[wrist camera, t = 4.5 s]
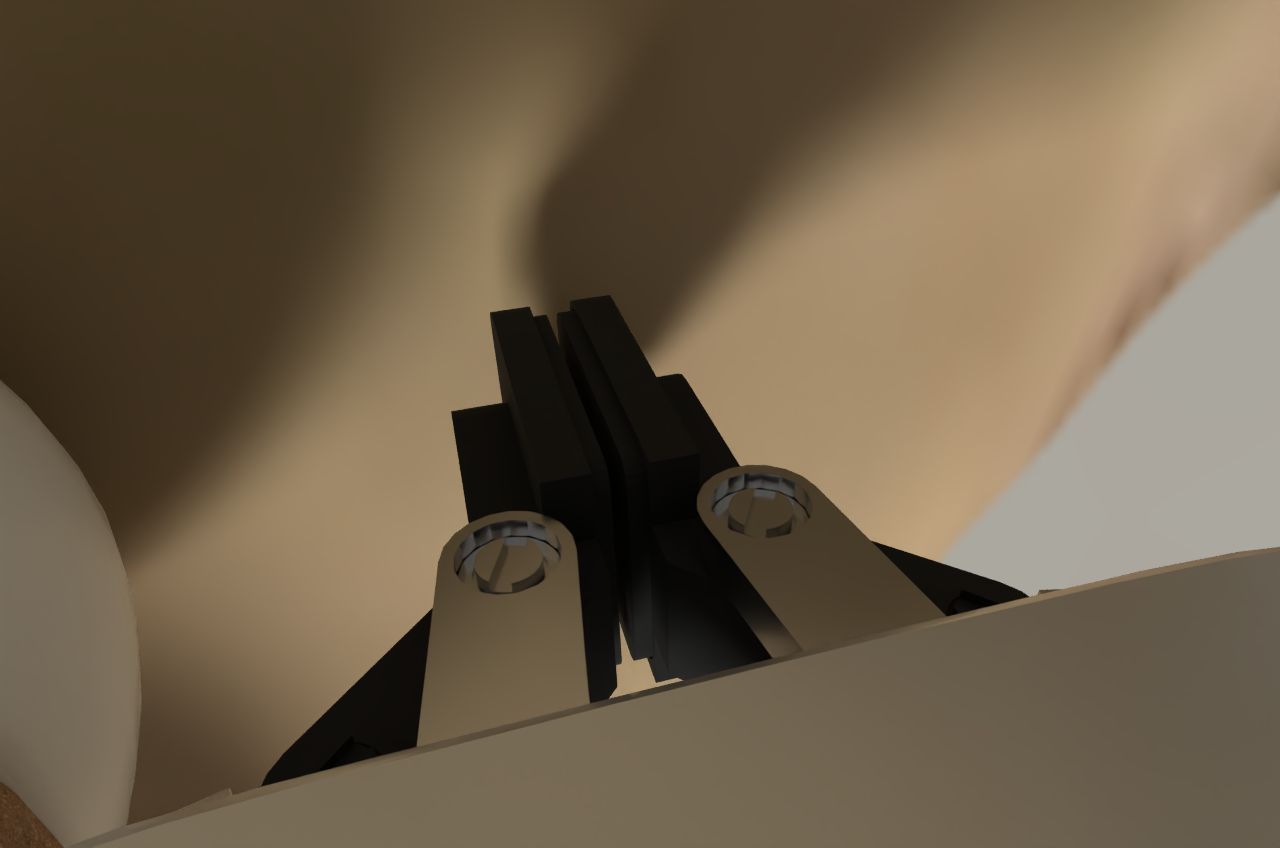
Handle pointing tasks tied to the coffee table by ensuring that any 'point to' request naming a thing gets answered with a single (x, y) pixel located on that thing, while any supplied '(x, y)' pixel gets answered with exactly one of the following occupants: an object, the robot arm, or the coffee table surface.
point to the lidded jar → (61, 647)
